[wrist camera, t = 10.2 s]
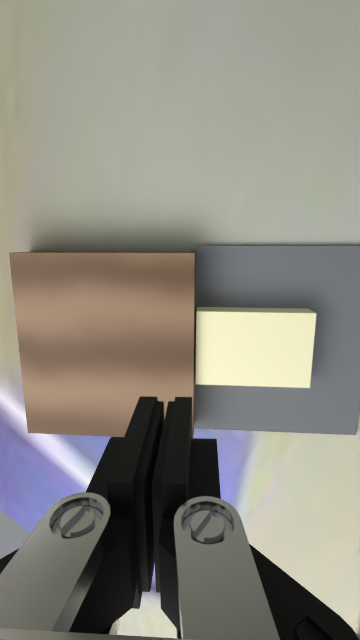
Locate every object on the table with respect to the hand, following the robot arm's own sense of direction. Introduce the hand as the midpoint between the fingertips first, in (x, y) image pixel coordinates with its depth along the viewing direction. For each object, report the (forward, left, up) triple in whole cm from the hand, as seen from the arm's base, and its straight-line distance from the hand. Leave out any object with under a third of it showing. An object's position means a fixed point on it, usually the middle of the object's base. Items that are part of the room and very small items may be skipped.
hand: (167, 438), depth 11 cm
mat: (+2, +7, -18) cm, 20 cm away
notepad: (+2, +5, -18) cm, 19 cm away
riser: (+2, -7, -18) cm, 20 cm away
